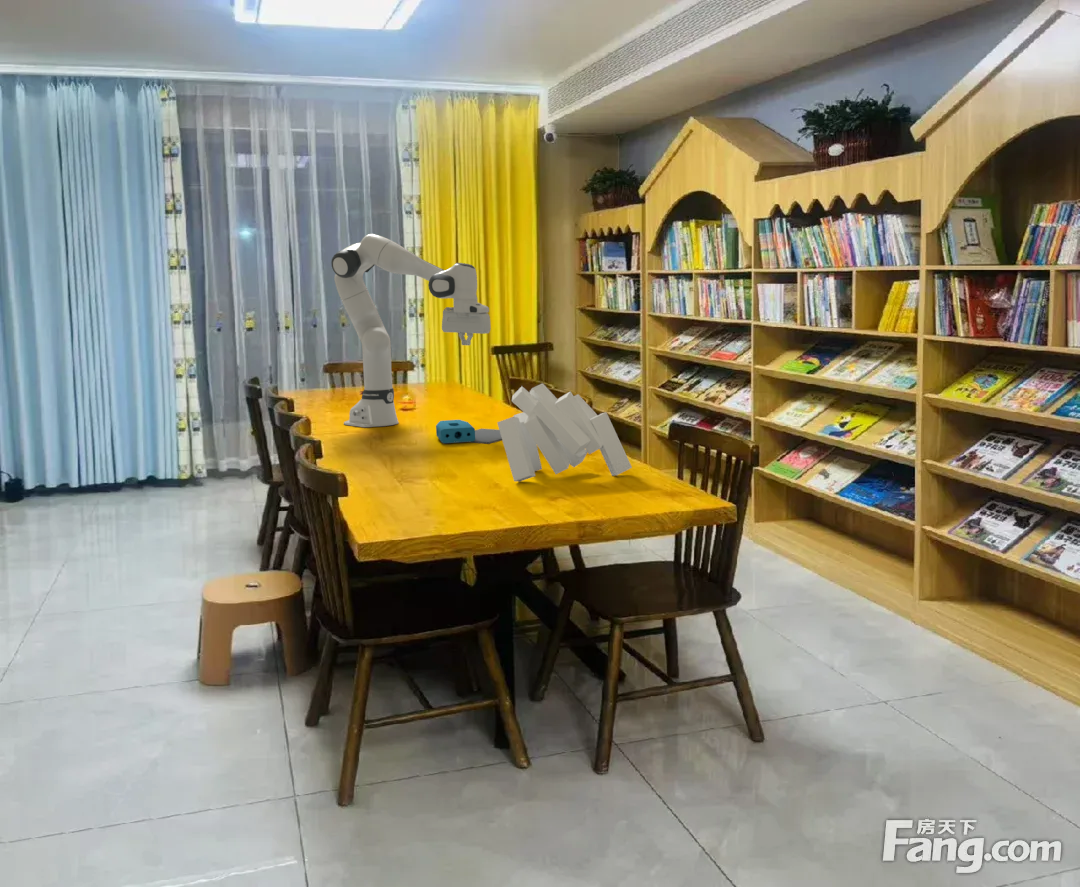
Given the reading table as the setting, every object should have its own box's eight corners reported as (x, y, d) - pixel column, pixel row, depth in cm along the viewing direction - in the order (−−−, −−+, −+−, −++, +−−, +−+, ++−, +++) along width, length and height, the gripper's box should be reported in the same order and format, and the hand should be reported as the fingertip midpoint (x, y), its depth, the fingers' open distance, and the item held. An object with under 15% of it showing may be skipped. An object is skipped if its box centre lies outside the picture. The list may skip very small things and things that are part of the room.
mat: (443, 440, 374) (443, 438, 374) (481, 430, 394) (481, 428, 394) (489, 443, 364) (489, 442, 363) (526, 433, 384) (526, 431, 383)
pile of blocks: (614, 480, 322) (565, 379, 326) (649, 458, 294) (596, 348, 298) (515, 525, 310) (466, 419, 314) (542, 506, 282) (488, 391, 286)
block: (466, 419, 385) (474, 427, 366) (466, 432, 386) (475, 441, 366) (433, 421, 382) (440, 429, 363) (434, 434, 383) (441, 443, 364)
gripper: (437, 307, 388) (438, 344, 390) (482, 308, 377) (483, 346, 380) (448, 306, 393) (448, 343, 396) (492, 307, 382) (493, 345, 385)
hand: (466, 345), depth 387 cm, fingers closed
